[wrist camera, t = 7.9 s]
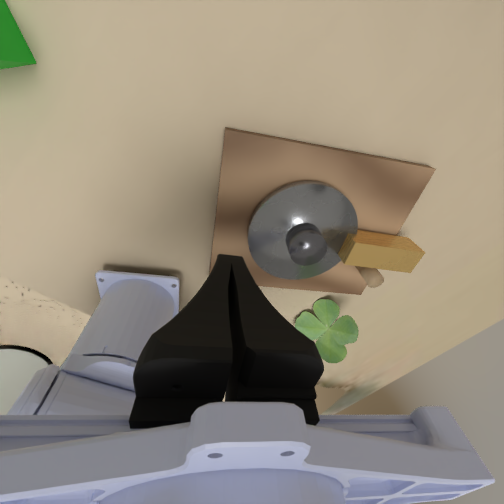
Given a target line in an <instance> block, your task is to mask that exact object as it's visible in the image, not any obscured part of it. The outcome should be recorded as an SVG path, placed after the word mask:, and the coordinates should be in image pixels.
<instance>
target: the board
mask: <svg viewBox="0 0 504 504" xmlns="http://www.w3.org/2000/svg"><path fill="white" fill-rule="evenodd" d="M435 170H436V169H435V168H432V167H430V166H427V165H422V164H416V163H411V162H406V161H401V160H395V159H390V158H385V157H380V156H374V155H369V154H364V153H358V152H353V151H348V150H343V149H337V148H332V147H327V146H321V145H316V144H311V143H306V142H300V141H295V140H290V139H285V138H279V137H274V136H269V135H263V134H258V133H253V132H248V131H242V130H237V129H232V128H227V127H225V136H224V145H223V154H222V163H221V172H220V181H219V191H218V200H217V209H216V218H215V227H214V236H213V246H212V255H211V264H210V273H211V271H212V269H213V267H214V265H215V262H216V259H217V255H219V254H226V255H235V256H242V257H243V258H244V261H245V263H246V265H247V267H248V269H249V271H250V273H251V275H252V277H253V279H254V280H255V282H256V284H257V285H258V286H265V287H276V288H288V289H299V290H311V291H322V292H334V293H345V294H357V295H361V294H362V292H363V290H364V289H365V287H366V285H368V286H369V287H371V288H374V287H378V286H380V285H381V284H382V283H383V281H384V278H383V276H382V275H381V274H380V272H379V271H378V270H377V269H376V268H368V267H360V266H352V265H345V264H344V263H343V262H342V260H341V261H340V262H339V263H338V264H337V265H335V266H334V267H332V268H331V269H329V270H328V271H326V272H324V273H322V274H320V275H317V276H314V277H311V278H306V279H299V280H290V279H282V278H278V277H275V276H273V275H270V274H269V273H267V272H265V271H264V270H263V269H261V268H260V267H259V266H258V265H257V264H256V262H255V261H254V260H253V258H252V256H251V253H250V250H249V245H248V225H249V221H250V218H251V216H252V214H253V212H254V210H255V209H256V207H257V206H258V205H259V203H260V202H261V201H262V200H263V199H264V198H265V197H266V196H267V195H269V194H270V193H271V192H273V191H274V190H276V189H278V188H280V187H282V186H284V185H287V184H290V183H293V182H298V181H310V180H312V181H319V182H323V183H327V184H329V185H331V186H333V187H335V188H336V189H338V190H339V191H340V192H341V193H343V194H344V195H345V196H346V197H347V198H348V200H349V201H350V202H351V203H352V205H353V207H354V209H355V211H356V214H357V219H358V230H362V231H369V232H375V233H381V234H388V235H394V236H396V235H397V233H398V232H399V230H400V228H401V227H402V225H403V223H404V222H405V220H406V218H407V217H408V215H409V213H410V212H411V210H412V208H413V207H414V205H415V203H416V202H417V200H418V198H419V197H420V195H421V193H422V192H423V190H424V188H425V187H426V185H427V183H428V182H429V180H430V178H431V176H432V175H433V173H434V171H435ZM210 273H209V275H210Z"/></svg>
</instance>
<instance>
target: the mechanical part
mask: <svg viewBox="0 0 504 504" xmlns="http://www.w3.org/2000/svg"><path fill="white" fill-rule="evenodd" d="M31 64H37V63H36V61H35V59H34V57H33V55H32V53H31V51H30V49H29V47H28V45H27V43H26V41H25V39H24V37H23V35H22V33H21V31H20V29H19V27H18V25H17V23H16V22H15V20H14V18H13V16H12V14H11V12H10V10H9V8H8V6H7V4H6V2H5V0H0V69H5V68H12V67H18V66H24V65H31Z"/></svg>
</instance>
